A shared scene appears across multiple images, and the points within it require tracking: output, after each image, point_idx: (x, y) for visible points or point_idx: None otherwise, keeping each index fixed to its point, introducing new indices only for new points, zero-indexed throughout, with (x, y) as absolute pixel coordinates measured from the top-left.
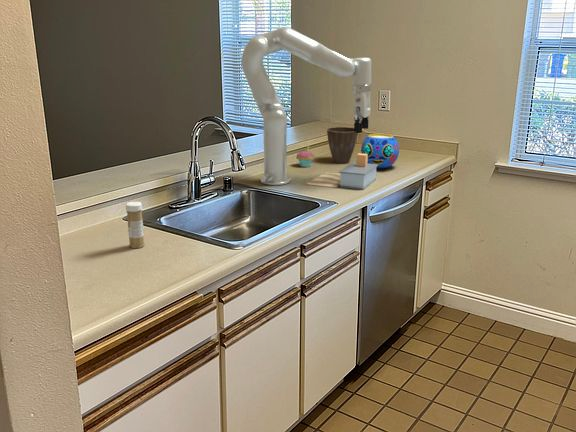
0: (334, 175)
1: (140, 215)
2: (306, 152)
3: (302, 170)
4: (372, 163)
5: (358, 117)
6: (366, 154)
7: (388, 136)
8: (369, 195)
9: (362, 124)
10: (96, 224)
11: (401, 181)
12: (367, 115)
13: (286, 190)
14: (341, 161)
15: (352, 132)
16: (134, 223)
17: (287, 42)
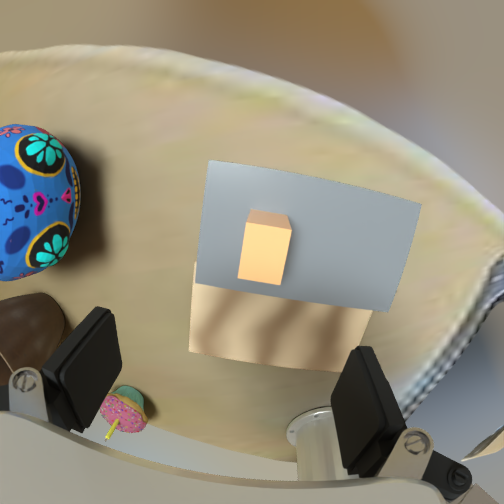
0: (221, 321)
1: None
2: (123, 422)
3: (181, 400)
4: (78, 210)
5: (466, 486)
6: (262, 228)
7: None
8: (446, 174)
9: (104, 381)
10: (486, 454)
11: (230, 66)
12: (254, 499)
13: (401, 389)
14: (60, 315)
15: None
16: None
17: None
